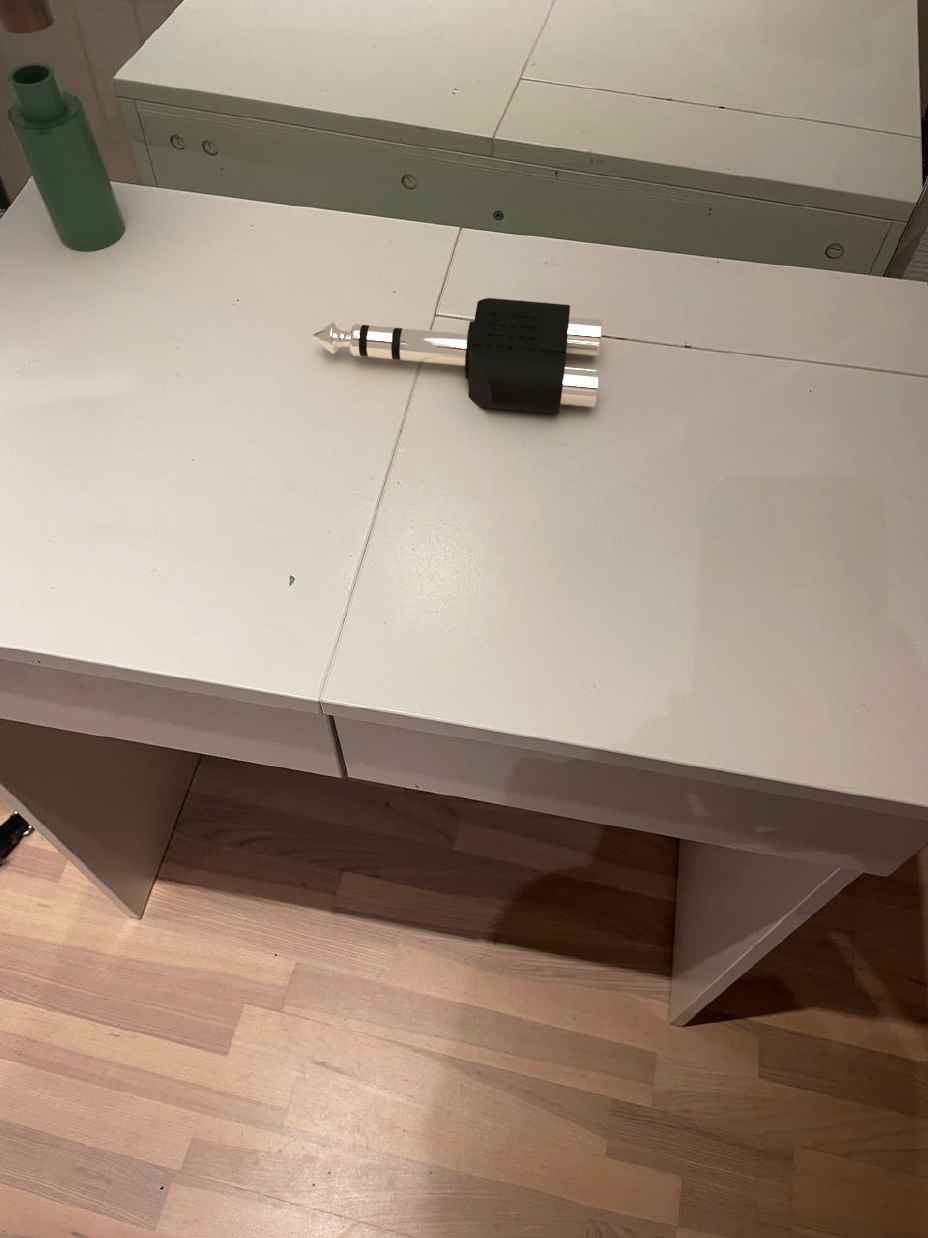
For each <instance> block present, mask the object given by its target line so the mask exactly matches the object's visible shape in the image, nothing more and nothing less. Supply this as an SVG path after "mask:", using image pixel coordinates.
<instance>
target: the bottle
mask: <svg viewBox="0 0 928 1238" xmlns="http://www.w3.org/2000/svg"><path fill="white" fill-rule="evenodd" d="M7 83H8V85H9V86H10V90H11V92H12V94H13V97H14V98H15V102H13V103H12V105H11V106H10V107H9V108H8V110H7V116H6V119H7V122H8V123H9V125H10V128H11V131H12V132H13V135H14V137H15V139H16V141H17V144H18V147H19V148H20V149H19V150H20V151H21V153H22V156H23V158H24V160H25V163H26V164H27V165H26V166H27V168H28V170H29V172H30V174H31V177H32V178H33V181H34V183H35V186H36V188H37V190H38V192H39V195H40V197H41V200H42V201H43V202H42V203H43V204H44V207H45V209H46V211H47V213H48V215H49V218H50V220H51V222H52V225H53V227H54V230H55V232H56V234H57V236H58V238H59V240H60V242H61V243H62V244H63V245H64V246H65V247H66V248H69V249H70V250H74V251H77V252H95V251H99V250H100V251H101V250H103V249H105V248H108V247H110V246H112V245H115V243H117V242H118V241H119V240H121V238H122V237H123V235H124V233H125V230H126V229H125V228H126V226H125V222H124V218H123V214H122V212H121V209H120V206H119V203H118V201H117V198H116V194H115V192H114V189H113V187H112V184H111V180H110V177H109V175H108V172H107V169H106V167H105V164H104V161H103V158H102V156H101V153H100V150H99V147H98V145H97V144H98V143H97V141H96V139H95V135H94V133H93V130H92V128H91V125H90V122H89V119H88V116H87V113H86V111H85V107H84V105H83V103H82V101H81V100H80V98H79V97H78V96H76V95H74V94H72V93H70V92H67V91H62V88H61V86H60V83H59V80H58V78H57V74H56V71H55V69H54V68H53V67H51V66H50V65H49V64H46V63H41V62H32V63H25V64H22V65H19V66H17V67H16V66H15V67H14V68H13V69H12V70H11V71H10V72H9V73H8V75H7Z"/></svg>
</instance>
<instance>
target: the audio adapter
mask: <svg viewBox="0 0 928 1238" xmlns="http://www.w3.org/2000/svg"><path fill="white" fill-rule="evenodd" d="M476 302H477V303H476V309H475V314H474V320H473V321H472V320H470V321H469V323H468V328H467V333H463V332H453V331H441V330H432V329H422V328H421V329H420V328H408V327H396V326H387V325H374V324H363V323H354V324H353V325H352V326H351V327H350V329H348V330H342V329H341V328H340V326H339V325H338V323H337V322H336V321H332V322H331V323H329V324H327V325H325V326H324V327H322V328H320V329H319V330H318V331H316V332H314V333H313V334H312V338H313V339H314V341H316V343H318V344H319V345H321V346H322V348H324V349H326V350H327V351H328V352H329V353H330V354H332V355H335V354H336V353H337V352H338V350H339V349H341V348H347V349H348V350H349V352H350V354H351V355H353V356H354V357H366V358H373V359H382V360H400V361H406V362H416V363H417V362H418V363H427V364H437V365H438V364H439V365H448V366H449V365H450V366H459V367H464V378H465V380H468V398H469V399H470V400H471V401H472V402H474V403H475V404H476V405H478V406H480V407H483V408H492V409H502V410H503V409H504V410H511V411H512V410H514V411H523V412H532V413H533V412H534V413H544V414H555V415H558V414H560V409H561V405H563V406H575V407H584V408H585V407H586V408H595V407H596V403H597V398H598V392H599V391H598V390H599V384H600V382H599V381H600V370H599V369H592V368H582V367H570V366H566V358H567V355H568V354H571V355H580V356H589V357H590V356H591V357H598V356H599V352H600V348H601V347H600V346H601V340H602V339H601V338H602V330H603V319H599V318H588V317H587V318H586V317H576V316H575V317H574V316H570V313H571V305H570V304H564V303H563V304H562V303H551V302H540V301H529V300H517V299H505V298H496V297H494V298H493V297H486V298H483V299H480V300H478V301H476Z"/></svg>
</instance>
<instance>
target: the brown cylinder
mask: <svg viewBox="0 0 928 1238" xmlns="http://www.w3.org/2000/svg"><path fill="white" fill-rule="evenodd" d="M56 20H57V14H56V12H55V8H54V6H53V3H52V0H0V27H1V28H2V29H3V30H4V31H6V32H8V33H12V34H21V35H22V34H23V35H25V34H32V33H33V34H34V33H38V32H41V31H44V30H46V29H47V28H49V27H52V25H54V23H55V22H56Z"/></svg>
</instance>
